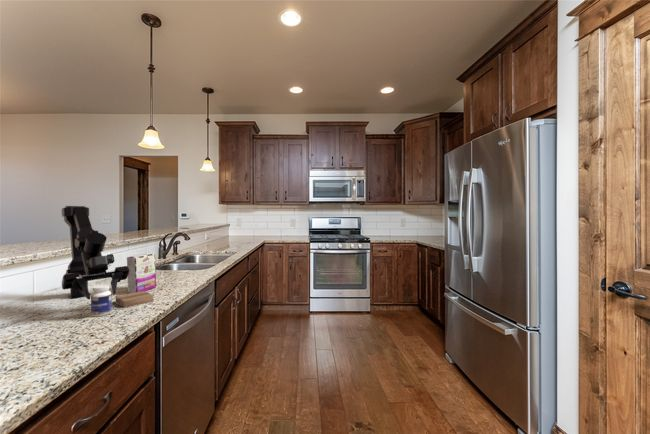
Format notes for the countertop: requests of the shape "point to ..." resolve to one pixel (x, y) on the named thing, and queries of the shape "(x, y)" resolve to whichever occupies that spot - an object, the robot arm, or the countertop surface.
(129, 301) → the walnut block
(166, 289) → the countertop surface
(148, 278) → the candy bar box
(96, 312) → the pill bottle
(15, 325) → the countertop surface
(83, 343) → the countertop surface
